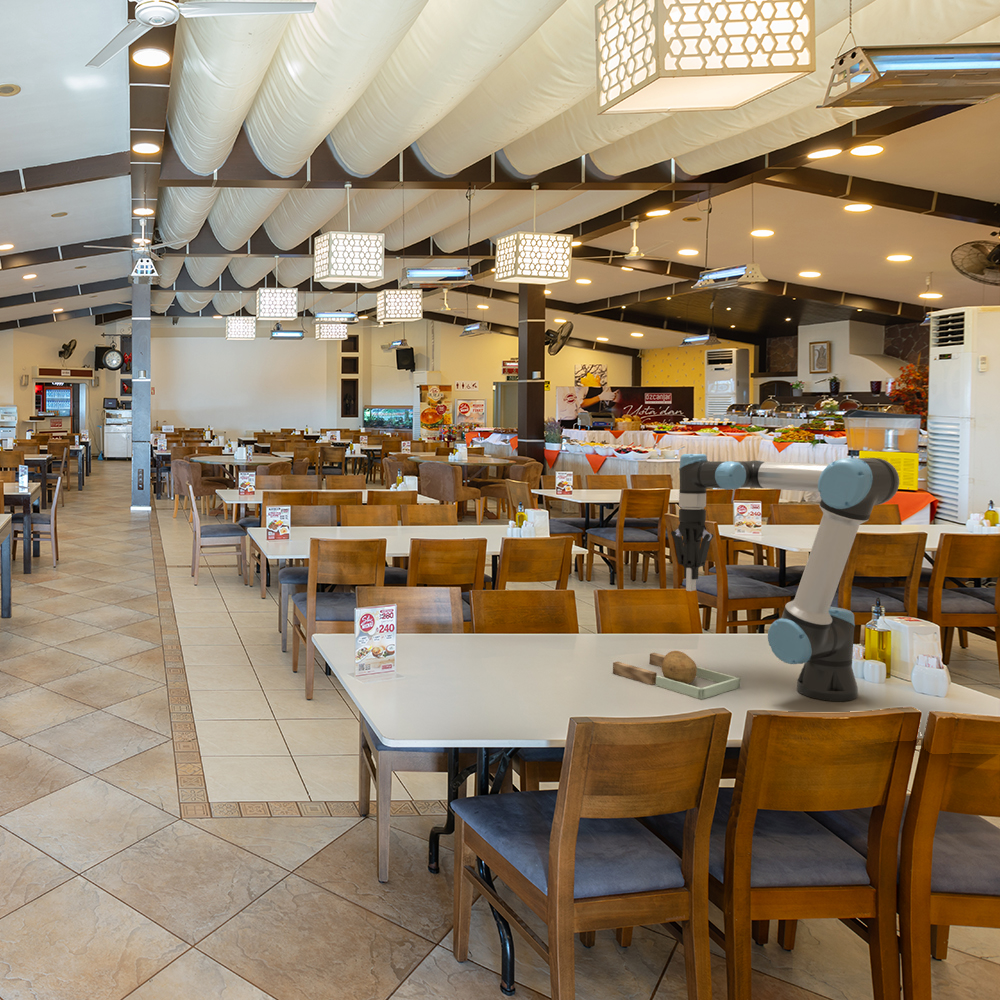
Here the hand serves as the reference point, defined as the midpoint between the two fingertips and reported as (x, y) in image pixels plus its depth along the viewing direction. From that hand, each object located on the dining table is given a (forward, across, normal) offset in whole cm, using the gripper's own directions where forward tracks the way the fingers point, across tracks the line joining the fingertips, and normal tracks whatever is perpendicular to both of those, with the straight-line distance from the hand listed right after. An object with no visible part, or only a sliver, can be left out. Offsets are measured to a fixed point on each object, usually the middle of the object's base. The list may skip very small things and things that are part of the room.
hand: (690, 590), depth 249 cm
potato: (+24, -6, +14) cm, 28 cm away
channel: (+23, +5, +11) cm, 26 cm away
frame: (+23, -11, +12) cm, 28 cm away
